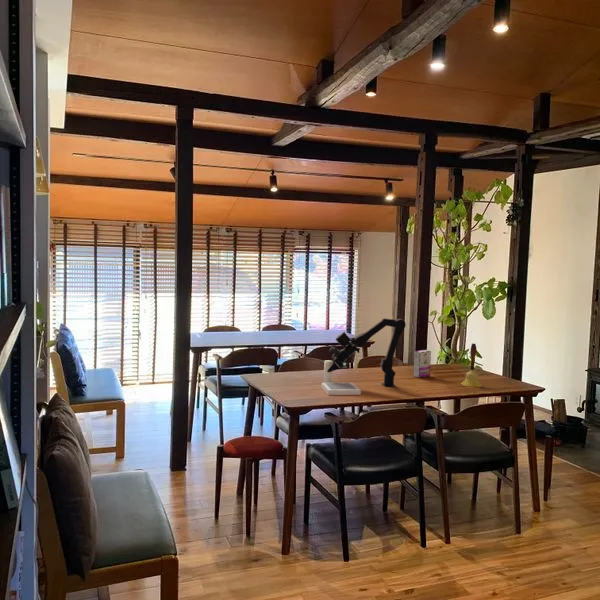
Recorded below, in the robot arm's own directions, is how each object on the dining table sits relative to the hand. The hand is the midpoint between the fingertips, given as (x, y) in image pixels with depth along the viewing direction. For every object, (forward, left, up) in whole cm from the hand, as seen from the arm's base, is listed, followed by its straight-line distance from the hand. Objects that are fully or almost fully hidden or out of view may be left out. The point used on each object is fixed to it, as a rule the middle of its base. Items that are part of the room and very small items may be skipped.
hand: (327, 370), depth 326 cm
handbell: (-5, -88, -8) cm, 88 cm away
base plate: (-19, -4, -7) cm, 21 cm away
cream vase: (0, -1, -7) cm, 8 cm away
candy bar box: (+19, -66, -8) cm, 69 cm away
